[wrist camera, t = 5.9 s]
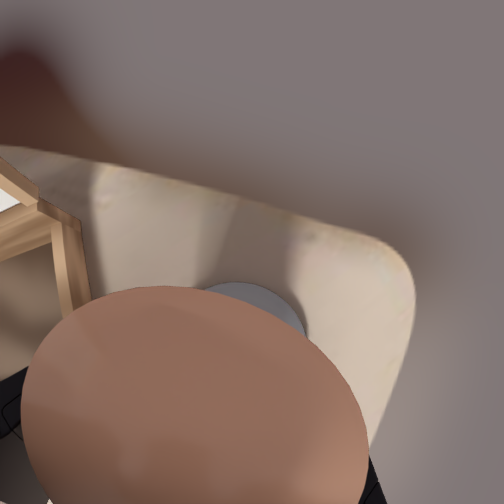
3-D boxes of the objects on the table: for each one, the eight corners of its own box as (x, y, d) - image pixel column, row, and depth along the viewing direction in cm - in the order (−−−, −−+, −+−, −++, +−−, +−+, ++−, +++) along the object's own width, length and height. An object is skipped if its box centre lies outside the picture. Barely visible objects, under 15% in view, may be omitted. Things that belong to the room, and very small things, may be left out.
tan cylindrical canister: (271, 419, 18) (301, 598, 4) (165, 391, 18) (26, 514, 4) (299, 315, 19) (415, 336, 5) (189, 288, 19) (46, 243, 5)
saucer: (319, 394, 20) (322, 398, 19) (191, 425, 20) (188, 430, 19) (284, 267, 22) (286, 266, 21) (156, 301, 21) (152, 301, 20)
